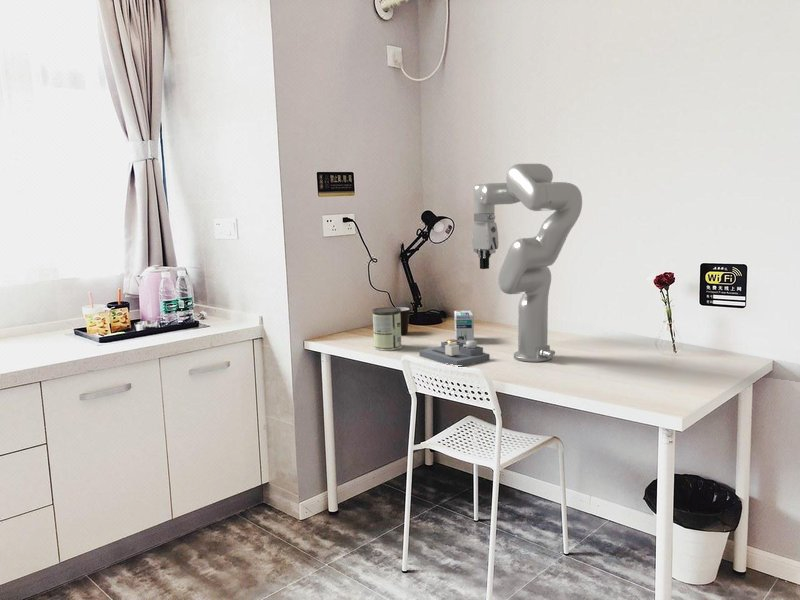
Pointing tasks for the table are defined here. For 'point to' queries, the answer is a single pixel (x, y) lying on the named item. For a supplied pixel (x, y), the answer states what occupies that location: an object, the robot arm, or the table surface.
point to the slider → (452, 349)
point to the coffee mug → (404, 319)
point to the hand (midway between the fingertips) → (484, 268)
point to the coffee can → (387, 328)
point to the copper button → (451, 340)
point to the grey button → (471, 344)
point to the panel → (462, 358)
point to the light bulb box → (464, 326)
